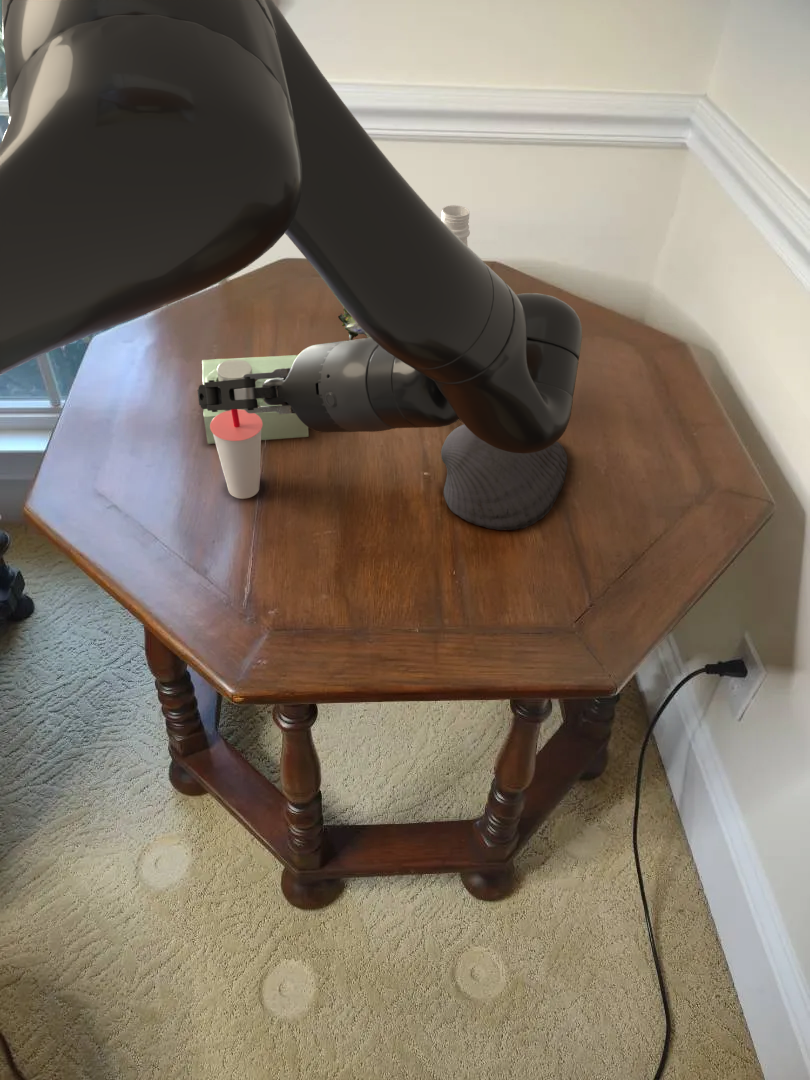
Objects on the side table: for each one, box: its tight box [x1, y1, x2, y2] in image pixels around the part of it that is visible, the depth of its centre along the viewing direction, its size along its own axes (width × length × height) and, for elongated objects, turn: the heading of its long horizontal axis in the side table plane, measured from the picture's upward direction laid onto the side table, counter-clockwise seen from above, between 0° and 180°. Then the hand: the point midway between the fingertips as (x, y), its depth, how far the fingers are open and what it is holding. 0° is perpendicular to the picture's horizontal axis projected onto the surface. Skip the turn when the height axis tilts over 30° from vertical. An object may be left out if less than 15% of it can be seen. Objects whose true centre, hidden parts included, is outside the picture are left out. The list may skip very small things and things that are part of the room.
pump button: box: [217, 360, 252, 389], centre depth 90 cm, size 4×4×2 cm
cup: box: [210, 409, 263, 500], centre depth 82 cm, size 5×5×12 cm
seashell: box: [440, 423, 568, 531], centre depth 88 cm, size 14×19×8 cm
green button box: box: [201, 354, 310, 445], centre depth 94 cm, size 12×12×6 cm
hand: (239, 394), depth 74 cm, fingers open, 8 cm apart
